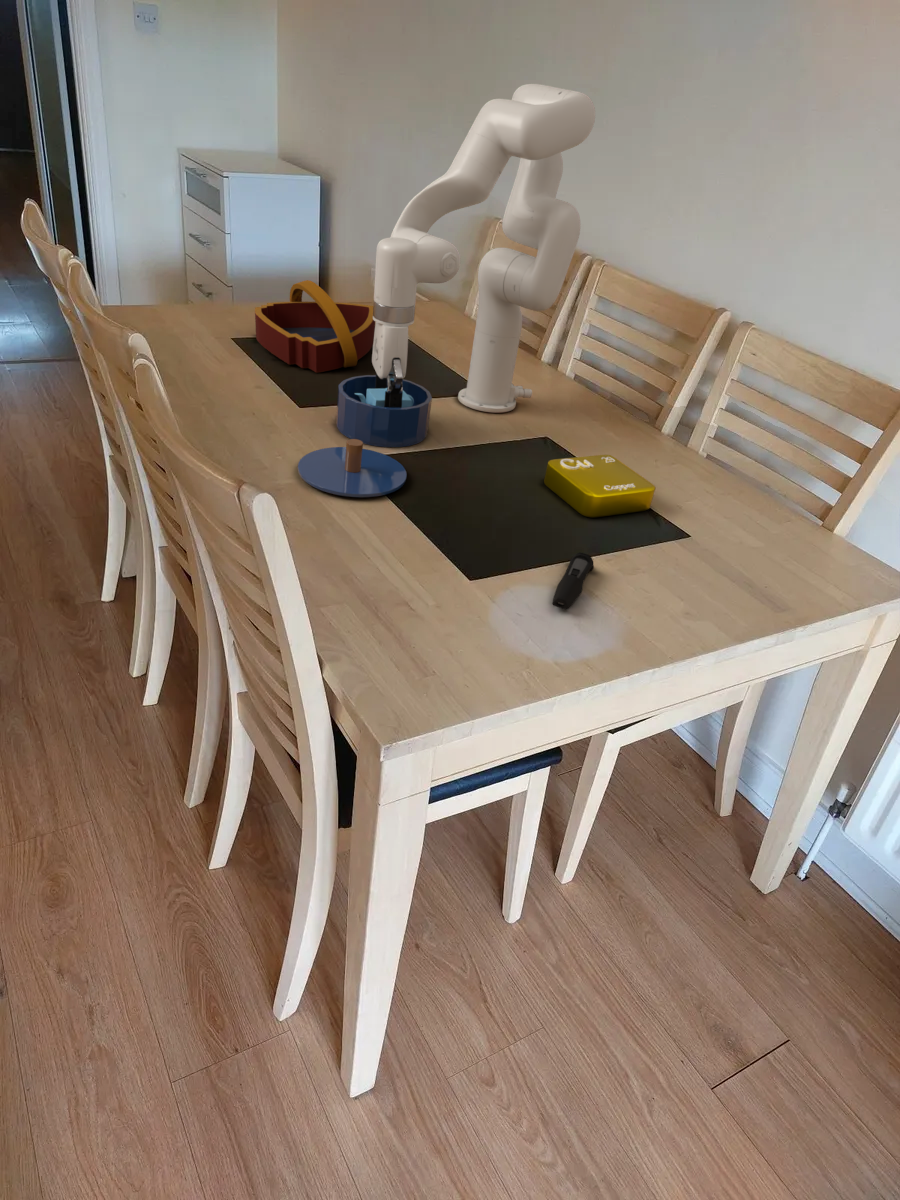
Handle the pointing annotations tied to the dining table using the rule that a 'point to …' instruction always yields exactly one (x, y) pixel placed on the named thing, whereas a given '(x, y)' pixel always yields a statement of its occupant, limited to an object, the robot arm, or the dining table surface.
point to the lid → (352, 471)
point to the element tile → (599, 485)
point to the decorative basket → (315, 329)
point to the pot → (382, 415)
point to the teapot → (383, 398)
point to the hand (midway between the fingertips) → (387, 401)
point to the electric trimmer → (572, 580)
